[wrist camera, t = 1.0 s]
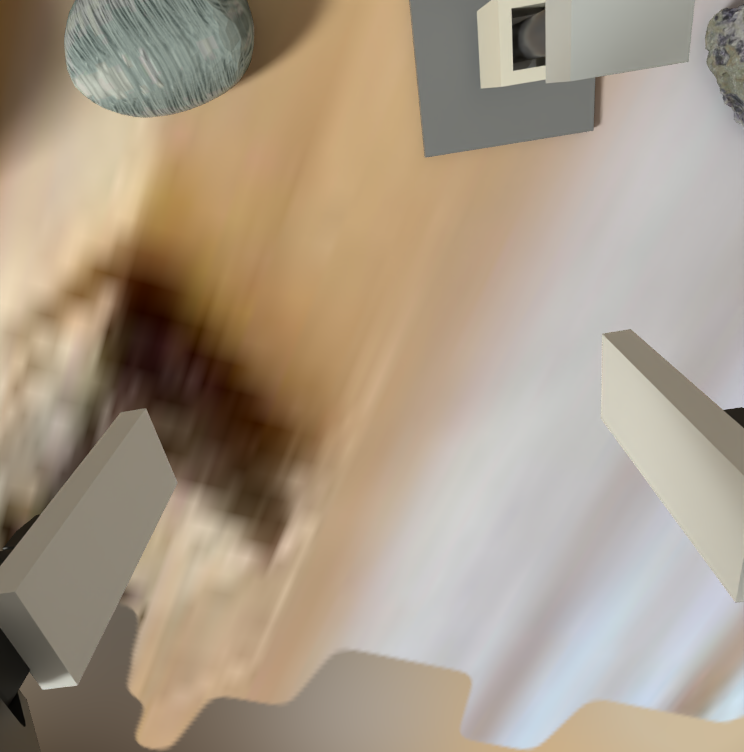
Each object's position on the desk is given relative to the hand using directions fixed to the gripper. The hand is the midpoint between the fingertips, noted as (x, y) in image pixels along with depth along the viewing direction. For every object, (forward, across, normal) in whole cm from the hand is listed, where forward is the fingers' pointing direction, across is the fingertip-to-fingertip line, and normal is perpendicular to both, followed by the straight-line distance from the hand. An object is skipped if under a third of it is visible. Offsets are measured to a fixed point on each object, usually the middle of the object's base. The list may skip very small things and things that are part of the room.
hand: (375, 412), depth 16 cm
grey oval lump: (+37, -13, +14) cm, 41 cm away
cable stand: (+36, +12, +10) cm, 40 cm away
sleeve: (+33, +13, +10) cm, 37 cm away
